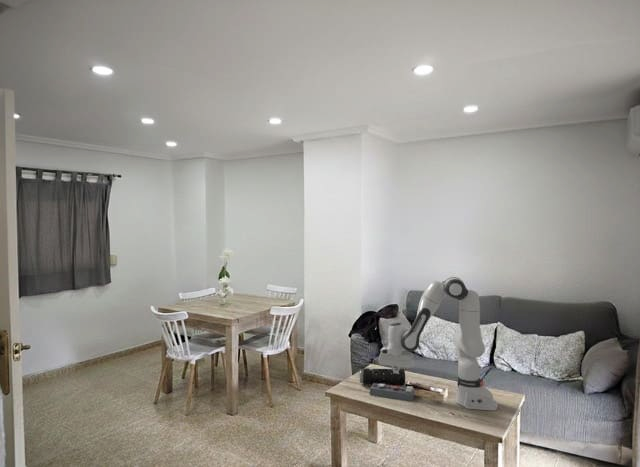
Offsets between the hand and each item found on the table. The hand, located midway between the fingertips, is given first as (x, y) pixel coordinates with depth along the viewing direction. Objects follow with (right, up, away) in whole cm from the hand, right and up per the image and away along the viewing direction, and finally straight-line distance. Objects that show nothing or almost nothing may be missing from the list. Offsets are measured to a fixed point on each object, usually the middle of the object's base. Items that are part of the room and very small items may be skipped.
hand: (395, 373), depth 246 cm
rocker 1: (-8, -8, +2) cm, 12 cm away
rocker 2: (+7, -8, -4) cm, 11 cm away
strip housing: (-2, -13, -1) cm, 13 cm away
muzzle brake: (-6, -13, +16) cm, 21 cm away
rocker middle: (-1, -8, -1) cm, 8 cm away
